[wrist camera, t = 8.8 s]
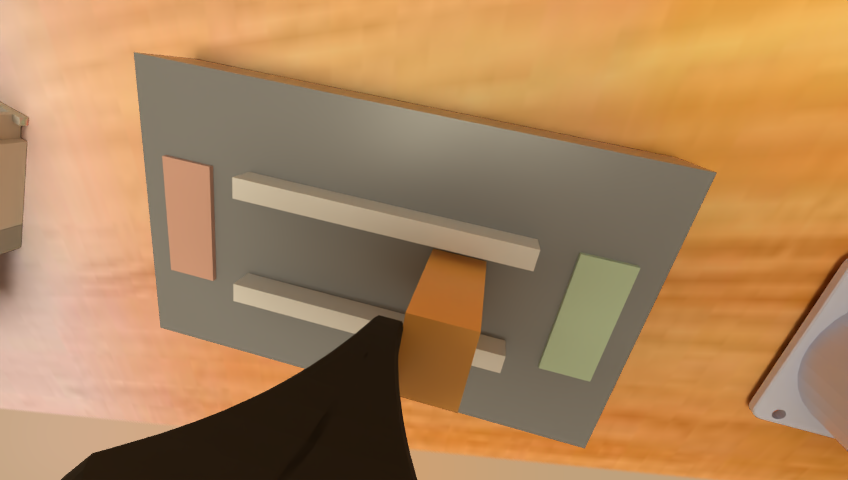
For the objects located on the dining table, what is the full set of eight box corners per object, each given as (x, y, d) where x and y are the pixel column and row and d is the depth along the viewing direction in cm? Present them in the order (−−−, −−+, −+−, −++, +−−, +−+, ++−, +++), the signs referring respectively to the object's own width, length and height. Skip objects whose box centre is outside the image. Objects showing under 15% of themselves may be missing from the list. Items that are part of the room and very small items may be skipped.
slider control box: (676, 157, 15) (734, 179, 11) (572, 397, 19) (589, 469, 16) (194, 58, 17) (108, 49, 13) (204, 296, 21) (142, 339, 18)
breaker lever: (486, 261, 14) (480, 332, 10) (469, 325, 15) (457, 413, 11) (432, 248, 14) (405, 312, 10) (419, 312, 15) (390, 393, 11)
